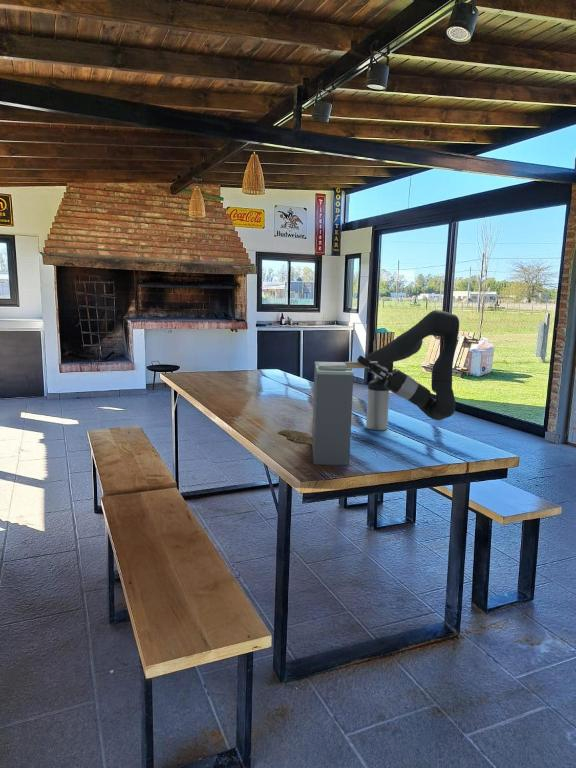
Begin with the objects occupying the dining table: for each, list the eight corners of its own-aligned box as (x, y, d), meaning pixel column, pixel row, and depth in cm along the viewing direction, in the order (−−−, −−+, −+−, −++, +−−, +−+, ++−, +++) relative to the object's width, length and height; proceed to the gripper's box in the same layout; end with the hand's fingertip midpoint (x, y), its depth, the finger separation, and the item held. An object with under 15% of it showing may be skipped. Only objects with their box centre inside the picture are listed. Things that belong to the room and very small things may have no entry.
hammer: (318, 366, 191) (318, 361, 191) (375, 366, 191) (375, 360, 191) (319, 369, 183) (319, 364, 183) (379, 369, 183) (379, 363, 183)
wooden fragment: (274, 431, 229) (274, 429, 229) (297, 429, 233) (297, 427, 233) (300, 448, 206) (300, 445, 206) (326, 445, 210) (326, 443, 210)
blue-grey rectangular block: (311, 443, 211) (314, 361, 206) (342, 444, 211) (346, 362, 206) (313, 464, 186) (317, 371, 180) (349, 465, 186) (353, 372, 180)
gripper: (403, 372, 194) (362, 346, 193) (411, 378, 180) (367, 350, 179) (391, 390, 195) (351, 364, 194) (399, 397, 181) (355, 370, 180)
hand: (359, 358), depth 187 cm, fingers closed on hammer, 2 cm apart
